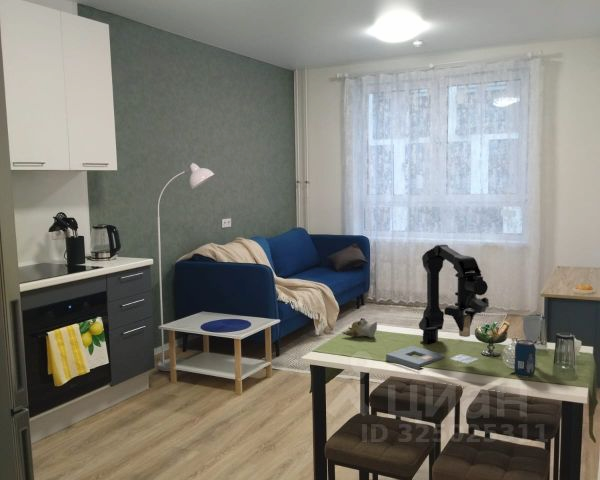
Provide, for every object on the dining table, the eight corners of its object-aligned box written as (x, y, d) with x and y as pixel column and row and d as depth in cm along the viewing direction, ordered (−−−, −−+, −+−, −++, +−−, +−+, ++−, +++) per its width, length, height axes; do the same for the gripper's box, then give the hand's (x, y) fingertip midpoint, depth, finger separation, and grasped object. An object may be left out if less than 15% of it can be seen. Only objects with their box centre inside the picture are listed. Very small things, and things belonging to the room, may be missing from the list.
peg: (463, 333, 220) (463, 313, 219) (472, 335, 217) (472, 314, 216) (457, 335, 218) (457, 314, 217) (466, 337, 215) (466, 316, 214)
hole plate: (412, 351, 233) (412, 345, 233) (444, 361, 221) (444, 354, 220) (386, 360, 223) (386, 353, 222) (418, 370, 210) (418, 363, 210)
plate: (461, 357, 224) (461, 354, 224) (478, 362, 218) (478, 358, 218) (449, 362, 219) (449, 358, 219) (466, 367, 213) (467, 363, 213)
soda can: (519, 369, 210) (520, 338, 209) (538, 374, 205) (539, 341, 204) (510, 374, 205) (511, 342, 204) (529, 379, 200) (530, 346, 199)
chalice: (541, 362, 217) (542, 316, 215) (540, 368, 211) (542, 320, 209) (520, 360, 220) (522, 314, 218) (519, 365, 214) (521, 319, 212)
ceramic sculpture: (373, 321, 247) (341, 320, 253) (374, 340, 248) (342, 339, 254) (379, 315, 257) (348, 315, 263) (380, 334, 258) (349, 333, 264)
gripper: (469, 297, 203) (468, 339, 205) (497, 289, 215) (496, 329, 217) (443, 292, 212) (443, 333, 214) (472, 285, 224) (471, 324, 225)
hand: (464, 330), depth 217 cm, fingers closed on peg, 4 cm apart
